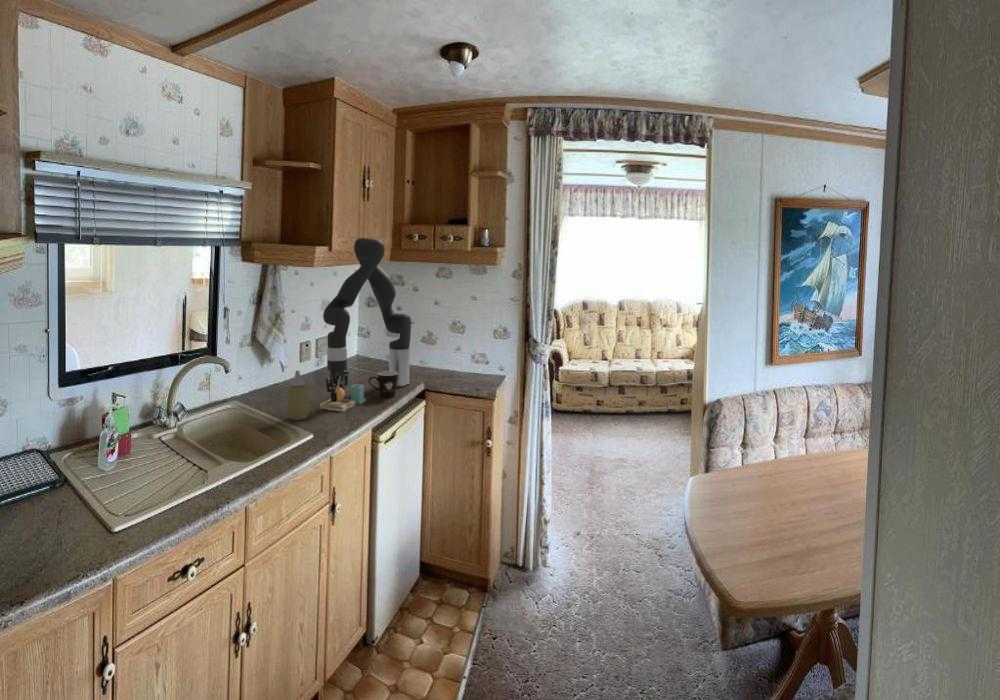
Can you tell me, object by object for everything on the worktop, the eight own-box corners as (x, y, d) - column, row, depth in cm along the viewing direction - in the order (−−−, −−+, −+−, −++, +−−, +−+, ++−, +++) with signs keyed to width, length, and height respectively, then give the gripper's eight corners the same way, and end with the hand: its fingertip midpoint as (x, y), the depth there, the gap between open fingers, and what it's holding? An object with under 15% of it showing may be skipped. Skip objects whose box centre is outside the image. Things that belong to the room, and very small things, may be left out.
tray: (332, 402, 233) (332, 397, 233) (355, 404, 231) (355, 400, 231) (319, 409, 223) (319, 404, 223) (343, 411, 221) (343, 406, 221)
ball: (335, 398, 230) (334, 384, 229) (347, 399, 229) (347, 386, 228) (327, 401, 225) (327, 387, 224) (340, 402, 223) (340, 389, 222)
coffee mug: (400, 394, 250) (400, 371, 248) (394, 399, 241) (394, 376, 240) (374, 392, 251) (374, 370, 249) (368, 397, 242) (367, 374, 241)
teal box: (354, 400, 238) (354, 383, 237) (365, 401, 237) (365, 384, 236) (349, 403, 233) (348, 386, 232) (360, 404, 232) (360, 387, 231)
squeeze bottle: (282, 419, 209) (280, 371, 206) (297, 413, 216) (296, 367, 213) (300, 422, 206) (298, 374, 203) (315, 416, 213) (313, 370, 210)
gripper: (337, 354, 231) (338, 394, 234) (318, 360, 217) (319, 403, 220) (354, 355, 230) (354, 396, 233) (336, 362, 216) (337, 405, 219)
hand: (337, 399), depth 227 cm, fingers closed on ball, 5 cm apart
